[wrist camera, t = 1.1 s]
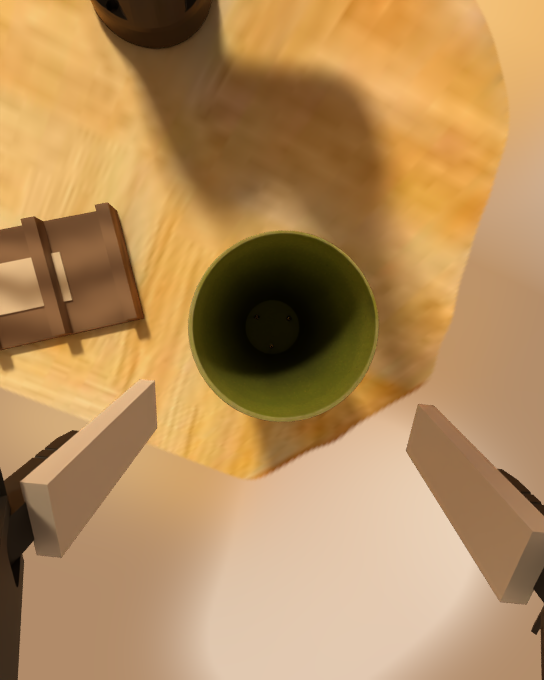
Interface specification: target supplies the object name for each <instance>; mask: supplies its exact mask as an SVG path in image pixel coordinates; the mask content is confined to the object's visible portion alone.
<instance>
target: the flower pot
mask: <svg viewBox="0 0 544 680" xmlns="http://www.w3.org/2000/svg"><path fill="white" fill-rule="evenodd" d="M256 315H257V316H258V317H259V318H258V319H256V318H255V316H256ZM287 317H290V318H291V319H290V320H287ZM378 332H379V318H378V311H377V306H376V301H375V298H374V295H373V292H372V290H371V287H370V285H369V283H368V281H367V280H366V278H365V276H364V274H363V273H362V271H361V270H360V269H359V267H358V266H357V265H356V264H355V262H354V261H353V260H352V259H351V258H350V257H349V256H348V255H347V254H346V253H344V252H343V251H342V250H341V249H339V248H338V247H336V246H335V245H333V244H332V243H330V242H328V241H326V240H324V239H322V238H319V237H317V236H314V235H311V234H307V233H303V232H297V231H270V232H265V233H261V234H257V235H254V236H251V237H249V238H246V239H244V240H242V241H240V242H238V243H236V244H235V245H233V246H231V247H230V248H229V249H227V250H226V251H225V252H223V253H222V254H221V255H220V256H219V257H218V258H217V259H216V260H215V261H214V262H213V263H212V264H211V265H210V267H209V268H208V269H207V271H206V272H205V274H204V275H203V277H202V279H201V281H200V282H199V284H198V286H197V289H196V291H195V294H194V296H193V299H192V302H191V306H190V311H189V320H188V335H189V342H190V348H191V351H192V354H193V358H194V361H195V363H196V365H197V368H198V370H199V372H200V373H201V375H202V377H203V378H204V380H205V381H206V383H207V384H208V386H209V387H210V388H211V389H212V390H213V391H214V393H215V394H216V395H217V396H218V397H220V398H221V399H222V400H223V401H224V402H225V403H227V404H228V405H230V406H231V407H233V408H234V409H236V410H238V411H240V412H242V413H244V414H246V415H249V416H251V417H255V418H258V419H261V420H266V421H274V422H293V421H300V420H304V419H308V418H311V417H314V416H317V415H320V414H322V413H324V412H326V411H328V410H330V409H331V408H333V407H334V406H336V405H337V404H339V403H340V402H341V401H343V400H344V399H345V398H346V397H347V396H348V395H349V394H350V393H351V392H352V391H353V390H354V389H355V388H356V387H357V386H358V384H359V383H360V382H361V380H362V379H363V377H364V376H365V374H366V372H367V371H368V368H369V366H370V364H371V362H372V359H373V356H374V354H375V350H376V346H377V341H378ZM271 344H272V345H273V347H272V348H271V347H270V345H271Z"/></svg>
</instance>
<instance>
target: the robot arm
mask: <svg viewBox="0 0 544 680" xmlns="http://www.w3.org/2000/svg"><path fill="white" fill-rule="evenodd" d="M91 2H92V4H93V6H94V8H95V10H96V12H97V14H98V15H99V17H100V18H101V20H102V21H103V22H104V23H105V24H106V25H107V26H108V28H110V29H111V30H112V31H113V32H114V33H115V34H117V35H118V36H120V37H121V38H123V39H125V40H127V41H129V42H131V43H133V44H136V45H140V46H144V47H150V48H162V47H169V46H173V45H176V44H178V43H181V42H183V41H184V40H186V39H188V38H189V37H190V36H192V35H193V34H194V33H195V32H196V31H197V30H198V29H199V28H200V26H201V25H202V24H203V22H204V20H205V19H206V17H207V14H208V12H209V9H210V5H211V0H91ZM156 429H157V415H156V395H155V381H153V380H142V379H139V380H138V381H137V382H136V383H135V384H134V385H132V386H131V387H130V388H129V389H128V390H127V391H125V392H124V393H123V394H122V395H121V396H120V397H118V398H117V399H116V400H115V401H114V402H113V403H111V404H110V405H109V406H108V407H107V408H106V409H104V410H103V411H102V412H101V413H100V414H99V415H97V416H96V417H95V418H94V419H93V420H92V421H90V422H89V423H88V424H87V425H86V426H85V427H83V428H82V429H81V430H80V431H74V430H72V431H70V432H68V433H66V434H65V435H63V436H60V437H58V438H57V439H55V440H54V441H53V442H52V443H50V445H48V446H47V447H46V448H45V450H42V451H41V452H39V453H38V454H37V455H36V456H35V458H32V459H31V460H29V461H28V462H27V463H26V464H24V465H23V466H22V467H21V468H19V469H18V470H17V471H16V472H14V473H13V474H12V475H11V476H9V477H8V478H7V479H6V480H5V481H4V480H3V477H2V473H1V469H0V680H18V663H19V644H20V626H21V607H22V589H23V571H24V559H23V555H22V553H23V552H24V551H25V550H26V549H27V548H28V546H29V545H30V544H31V543H32V542H33V541H34V545H35V550H36V554H37V555H41V556H50V557H60V558H62V557H63V555H64V554H65V552H66V551H67V550H68V548H69V547H70V546H71V544H72V543H73V541H74V540H75V539H76V538H77V536H78V535H79V533H80V532H81V531H82V529H83V528H84V527H85V525H86V524H87V522H88V521H89V520H90V518H91V517H92V516H93V514H94V513H95V512H96V510H97V509H98V508H99V506H100V505H101V503H102V502H103V501H104V500H105V498H106V496H107V495H108V494H109V493H110V491H111V490H112V489H113V487H114V486H115V485H116V483H117V482H118V481H119V479H120V478H121V476H122V475H123V474H124V472H125V471H126V470H127V468H128V467H129V466H130V464H131V463H132V461H133V460H134V459H135V457H136V456H137V455H138V453H139V452H140V451H141V449H142V448H143V446H144V445H145V444H146V443H147V441H148V440H149V438H150V437H151V436H152V434H153V433H154V432H155V430H156ZM406 452H407V453H408V455H409V457H410V458H411V460H412V461H413V463H414V465H415V466H416V468H417V470H418V471H419V472H420V474H421V476H422V478H423V479H424V481H425V482H426V484H427V486H428V487H429V489H430V490H431V492H432V493H433V495H434V497H435V498H436V500H437V502H438V503H439V505H440V506H441V508H442V510H443V511H444V513H445V514H446V516H447V518H448V519H449V521H450V523H451V524H452V526H453V527H454V529H455V531H456V532H457V534H458V535H459V537H460V539H461V540H462V542H463V543H464V545H465V547H466V548H467V550H468V551H469V553H470V554H471V556H472V558H473V559H474V561H475V563H476V564H477V566H478V567H479V569H480V571H481V572H482V574H483V575H484V577H485V579H486V580H487V582H488V584H489V585H490V587H491V588H492V590H493V592H494V593H495V594H496V596H497V598H498V600H499V601H500V602H506V603H515V604H525V605H526V604H527V603H528V601H529V599H530V596H531V595H532V592H533V591H534V590H535V592H536V593H537V594H538V596H539V597H540V598H541V599H542V601H543V602H544V505H542V504H541V502H540V501H539V500H538V499H537V498H536V497H535V496H534V495H531V493H530V491H529V490H528V489H527V488H526V487H525V486H523V485H522V484H521V483H520V482H519V481H518V480H517V479H515V478H514V477H513V476H511V475H510V474H508V473H507V472H505V471H504V470H502V469H496V468H495V467H494V466H493V465H492V464H491V463H490V462H489V460H487V458H486V457H484V456H483V454H481V453H480V451H479V450H477V448H476V447H475V446H474V445H473V444H471V442H470V441H469V440H467V438H465V436H463V434H462V433H461V432H460V431H459V430H457V428H456V427H455V426H454V425H453V424H452V423H451V422H450V421H448V419H447V418H446V417H445V416H444V415H443V414H442V413H441V412H440V411H439V410H438V409H437V408H436V407H435V406H433V405H422V404H418V407H417V410H416V414H415V418H414V422H413V426H412V429H411V434H410V437H409V441H408V445H407V449H406ZM539 629H541V663H542V664H541V667H542V680H544V606H543V608H542V610H541V612H540V614H539V616H538V618H537V620H536V621H535V623H534V625H533V628H532V630H531V631H532V632H533V633H534V634H537V632H538V631H539Z"/></svg>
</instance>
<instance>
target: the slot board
mask: <svg viewBox="0 0 544 680" xmlns="http://www.w3.org/2000/svg"><path fill="white" fill-rule="evenodd" d="M95 208H96V212H90V213H85V214H80V215H75V216H69V217H64V218H59V219H54V220H49V221H41V220H40V219H38V218H36V217H29V218H24V219H21V222H22V226H17V227H12V228H7V229H2V230H0V350H3V349H8V348H12V347H17V346H21V345H26V344H30V343H35V342H39V341H44V340H48V339H53V338H57V337H62V336H66V335H71V334H76V333H80V332H85V331H89V330H94V329H98V328H103V327H107V326H112V325H116V324H121V323H125V322H130V321H134V320H139V319H143V318H144V316H143V312H142V308H141V304H140V300H139V296H138V292H137V289H136V285H135V281H134V277H133V273H132V269H131V265H130V261H129V257H128V253H127V249H126V245H125V241H124V237H123V233H122V229H121V225H120V221H119V217H118V214H117V210H115V209H114V208H113V207H112V206H111V205H110V204H109V203H102V204H97V205H95Z"/></svg>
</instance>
